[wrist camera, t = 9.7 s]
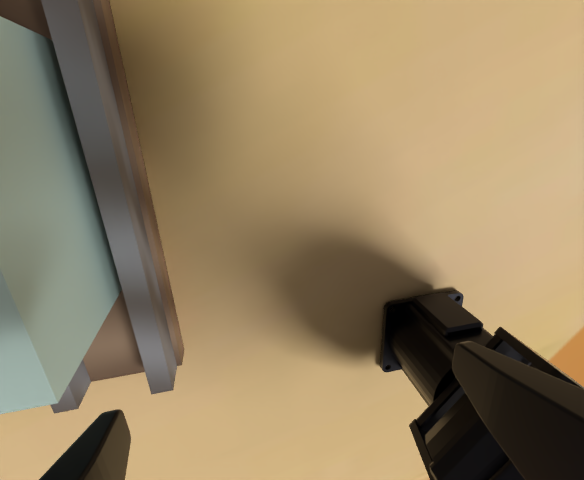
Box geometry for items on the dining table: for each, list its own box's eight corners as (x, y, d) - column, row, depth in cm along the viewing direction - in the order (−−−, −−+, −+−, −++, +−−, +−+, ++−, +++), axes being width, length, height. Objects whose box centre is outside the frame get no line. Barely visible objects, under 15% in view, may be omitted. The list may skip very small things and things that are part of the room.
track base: (184, 349, 22) (178, 389, 19) (-16, 384, 20) (-61, 435, 17) (84, -117, 13) (41, -191, 10) (-294, -143, 11) (-502, -248, 8)
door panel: (123, 287, 18) (57, 403, 11) (74, 294, 18) (-29, 419, 10) (54, 41, 14) (-135, -47, 6) (-13, 42, 13) (-300, -51, 6)
